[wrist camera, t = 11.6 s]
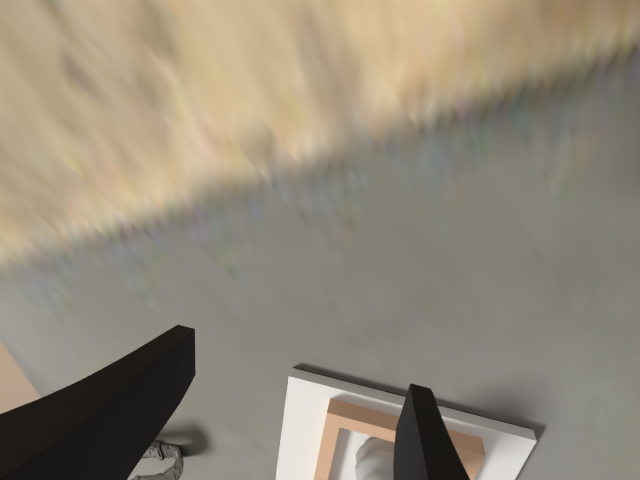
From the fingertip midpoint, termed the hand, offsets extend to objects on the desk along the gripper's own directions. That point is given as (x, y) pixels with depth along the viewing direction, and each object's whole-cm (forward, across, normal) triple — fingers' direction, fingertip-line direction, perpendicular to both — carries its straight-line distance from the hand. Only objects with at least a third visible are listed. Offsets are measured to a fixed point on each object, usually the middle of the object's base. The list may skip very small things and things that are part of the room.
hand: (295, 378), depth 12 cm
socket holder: (+10, -6, +16) cm, 20 cm away
